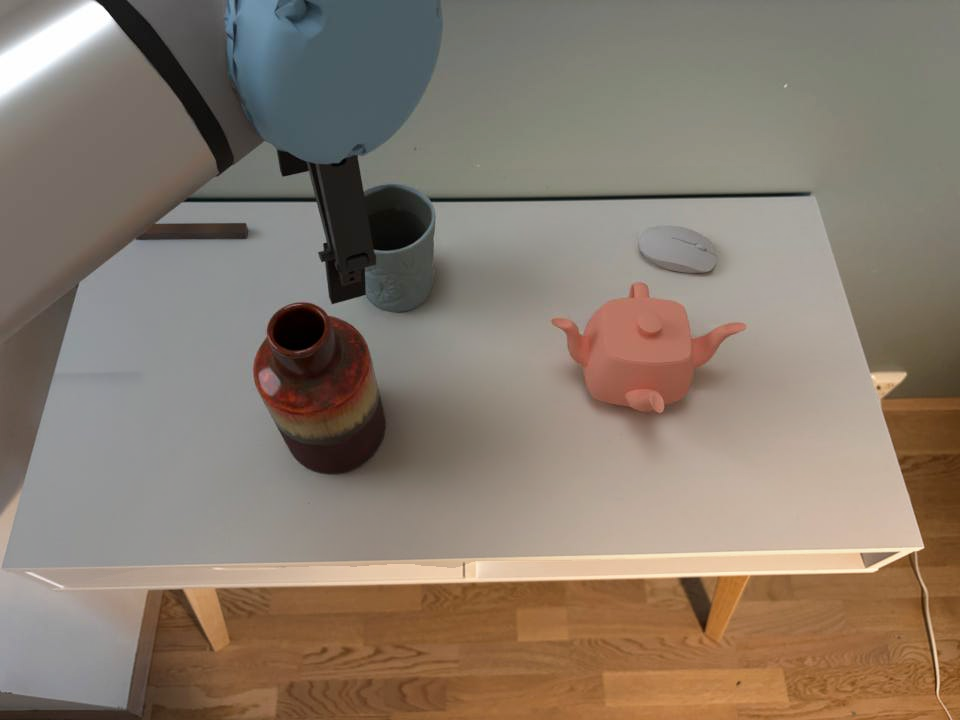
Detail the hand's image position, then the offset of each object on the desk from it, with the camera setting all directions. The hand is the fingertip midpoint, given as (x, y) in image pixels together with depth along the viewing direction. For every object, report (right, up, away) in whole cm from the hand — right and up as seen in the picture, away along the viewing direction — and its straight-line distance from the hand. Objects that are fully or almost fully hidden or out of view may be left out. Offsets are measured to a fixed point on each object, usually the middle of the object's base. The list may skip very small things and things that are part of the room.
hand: (321, 230), depth 59 cm
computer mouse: (+37, +3, +33) cm, 50 cm away
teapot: (+30, -13, +24) cm, 41 cm away
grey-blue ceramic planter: (+3, -1, +31) cm, 31 cm away
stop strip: (-24, +6, +34) cm, 42 cm away
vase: (-3, -18, +21) cm, 27 cm away
